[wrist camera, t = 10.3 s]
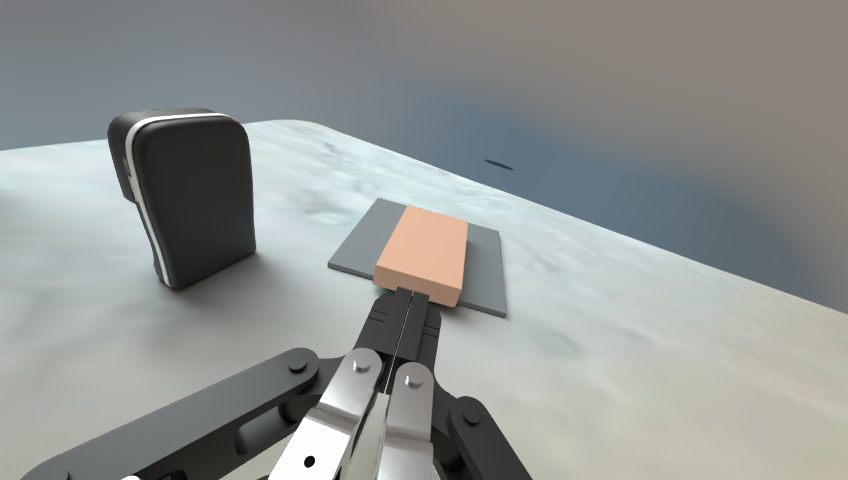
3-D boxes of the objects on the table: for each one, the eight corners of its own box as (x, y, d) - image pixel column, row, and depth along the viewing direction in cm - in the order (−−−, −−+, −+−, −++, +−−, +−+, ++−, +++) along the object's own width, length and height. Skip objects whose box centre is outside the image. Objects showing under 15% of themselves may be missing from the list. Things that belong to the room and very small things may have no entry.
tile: (461, 289, 24) (468, 221, 34) (375, 264, 24) (407, 204, 35) (453, 310, 25) (462, 238, 36) (371, 286, 25) (404, 222, 36)
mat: (504, 317, 27) (506, 313, 26) (327, 266, 27) (327, 262, 27) (497, 234, 39) (498, 231, 39) (377, 201, 40) (378, 197, 40)
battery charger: (229, 234, 28) (211, 100, 22) (260, 251, 27) (251, 115, 21) (138, 272, 22) (81, 104, 16) (174, 295, 21) (128, 125, 15)
